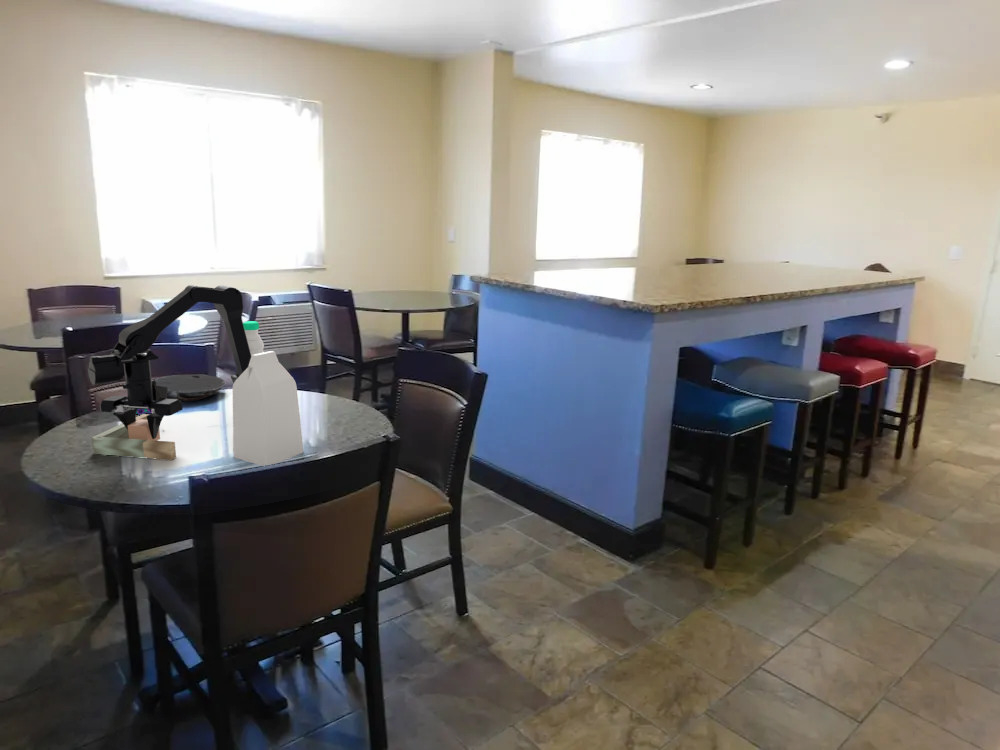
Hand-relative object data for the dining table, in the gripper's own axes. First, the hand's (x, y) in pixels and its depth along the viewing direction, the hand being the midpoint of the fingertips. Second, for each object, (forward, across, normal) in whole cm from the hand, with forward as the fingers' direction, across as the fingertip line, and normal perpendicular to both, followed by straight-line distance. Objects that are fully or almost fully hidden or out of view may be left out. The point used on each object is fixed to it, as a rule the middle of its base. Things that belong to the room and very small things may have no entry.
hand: (144, 437), depth 172 cm
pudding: (+3, +19, -27) cm, 33 cm away
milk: (+2, -33, 0) cm, 33 cm away
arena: (+2, -2, -3) cm, 4 cm away
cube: (+1, 0, 0) cm, 1 cm away
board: (+3, +15, -46) cm, 48 cm away
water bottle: (+2, -7, -46) cm, 47 cm away
